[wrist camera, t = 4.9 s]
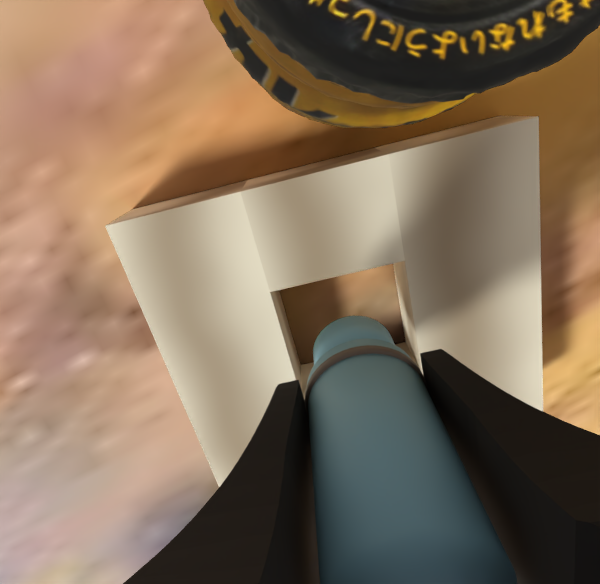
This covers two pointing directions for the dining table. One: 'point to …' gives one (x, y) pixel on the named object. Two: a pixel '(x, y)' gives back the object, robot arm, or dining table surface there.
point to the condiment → (395, 51)
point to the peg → (389, 471)
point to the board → (345, 267)
